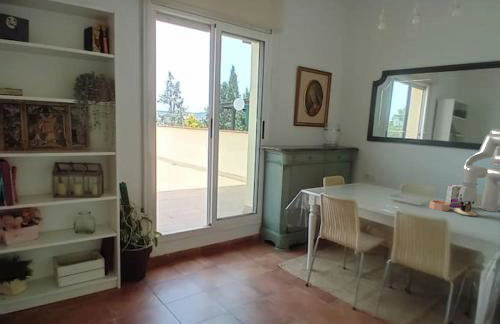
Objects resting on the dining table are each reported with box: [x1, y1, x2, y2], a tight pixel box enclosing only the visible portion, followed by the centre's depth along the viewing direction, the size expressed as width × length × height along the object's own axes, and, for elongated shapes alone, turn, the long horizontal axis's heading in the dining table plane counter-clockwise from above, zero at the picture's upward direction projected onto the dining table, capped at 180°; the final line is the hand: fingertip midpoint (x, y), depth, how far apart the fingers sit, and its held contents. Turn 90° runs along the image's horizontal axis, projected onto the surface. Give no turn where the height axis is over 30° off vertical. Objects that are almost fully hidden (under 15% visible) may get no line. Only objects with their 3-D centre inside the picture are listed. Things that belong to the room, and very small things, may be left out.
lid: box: [453, 202, 479, 217], centre depth 223 cm, size 14×14×6 cm
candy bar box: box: [445, 184, 463, 208], centre depth 241 cm, size 11×5×16 cm, turn 105°
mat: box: [452, 210, 478, 217], centre depth 224 cm, size 11×11×1 cm
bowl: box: [428, 199, 451, 212], centre depth 233 cm, size 12×12×5 cm
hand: (465, 210), depth 224 cm, fingers closed on lid, 3 cm apart
